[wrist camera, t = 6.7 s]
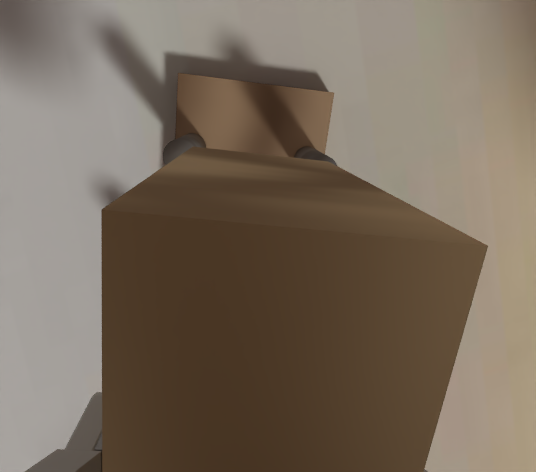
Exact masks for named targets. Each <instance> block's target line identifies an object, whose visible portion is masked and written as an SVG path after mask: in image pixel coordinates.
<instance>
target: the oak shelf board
mask: <svg viewBox="0 0 536 472" xmlns="http://www.w3.org/2000/svg"><path fill="white" fill-rule="evenodd" d="M487 248H488V246H487V245H485V244H483V243H482V242H480V241H478V240H476V239H474V238H472V237H470V236H468V235H466V234H464V233H463V232H461V231H459V230H457V229H455V228H453V227H451V226H449V225H447V224H446V223H444V222H442V221H440V220H438V219H436V218H434V217H432V216H430V215H429V214H427V213H425V212H423V211H421V210H419V209H417V208H415V207H413V206H411V205H410V204H408V203H406V202H404V201H402V200H400V199H398V198H396V197H394V196H393V195H391V194H389V193H387V192H385V191H383V190H381V189H379V188H377V187H375V186H374V185H372V184H370V183H368V182H366V181H364V180H362V179H360V178H358V177H357V176H355V175H353V174H351V173H349V172H347V171H345V170H343V169H341V168H340V167H338V166H336V165H334V164H332V163H330V162H328V161H319V160H310V159H301V158H292V157H283V156H274V155H265V154H256V153H247V152H238V151H229V150H220V149H211V148H202V147H191V148H190V149H189V150H187V151H186V152H184V153H183V154H181V155H180V156H178V157H177V158H176V159H174V160H173V161H171V162H170V163H168V164H167V165H165V166H164V167H163V168H161V169H160V170H158V171H157V172H155V173H154V174H152V175H151V176H150V177H148V178H147V179H145V180H144V181H142V182H141V183H139V184H138V185H137V186H135V187H134V188H132V189H131V190H129V191H128V192H126V193H125V194H124V195H122V196H121V197H119V198H118V199H116V200H115V201H113V202H112V203H111V204H109V205H108V206H106V207H105V208H103V209H102V472H423V471H424V468H425V464H426V461H427V457H428V454H429V450H430V447H431V443H432V440H433V436H434V433H435V429H436V426H437V422H438V419H439V415H440V412H441V408H442V405H443V401H444V398H445V394H446V391H447V387H448V384H449V380H450V377H451V373H452V370H453V366H454V363H455V359H456V356H457V352H458V349H459V345H460V342H461V338H462V335H463V331H464V328H465V324H466V321H467V317H468V314H469V310H470V307H471V303H472V300H473V296H474V293H475V289H476V286H477V282H478V279H479V275H480V272H481V268H482V265H483V262H484V258H485V255H486V251H487Z"/></svg>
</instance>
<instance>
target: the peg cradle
mask: <svg viewBox="0 0 536 472" xmlns="http://www.w3.org/2000/svg"><path fill="white" fill-rule="evenodd" d="M333 97H334V93H332V92H324V91H316V90H309V89H301V88H293V87H285V86H277V85H269V84H261V83H254V82H246V81H238V80H230V79H222V78H214V77H206V76H198V75H191V74H183V73H178V89H177V111H176V134H175V140H173V141H171V142H170V143H168V144H167V146H166V147H165V149H164V152H163V159H164V162H165V164H166V165H167V164H168V163H170V162H171V161H173V160H174V159H176V158H177V157H178V156H180V155H181V154H183V153H184V152H186V151H187V150H189V149H190V148H191V147H202V148H211V149H220V150H229V151H238V152H247V153H256V154H265V155H274V156H283V157H292V158H301V159H310V160H319V161H328V162H330V163H332V164H334V165H336V166H337V164H336V163H335V161H334V160H333V159H332V158H330V157H328V156H327V155H325V148H326V142H327V136H328V129H329V123H330V116H331V110H332V103H333Z"/></svg>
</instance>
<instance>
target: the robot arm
mask: <svg viewBox="0 0 536 472" xmlns="http://www.w3.org/2000/svg"><path fill="white" fill-rule="evenodd" d="M25 472H102V392H97V393H96V394H94V395H93V396H92V398H91V400H90V402H89V404H88V405H87V407H86V409H85V411H84V413H83V415H82V417H81V419H80V421H79V423H78V425H77V427H76V429H75V430H74V432H73V434H72V436H71V438H70V440H69V442H68V444H67V446H66V448H65V450H61V449H57V450H56V451H54V452H53V453H51V454H50V455H48V456H47V457H45V458H44V459H42V460H41V461H40V462H38V463H37V464H35V465H34V466H32V467H31V468H29V469H28V470H26V471H25ZM423 472H427V471H426V470H425V469H424V471H423Z"/></svg>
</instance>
